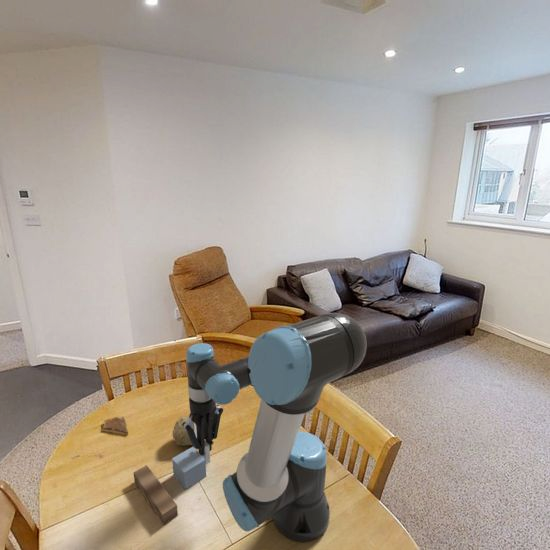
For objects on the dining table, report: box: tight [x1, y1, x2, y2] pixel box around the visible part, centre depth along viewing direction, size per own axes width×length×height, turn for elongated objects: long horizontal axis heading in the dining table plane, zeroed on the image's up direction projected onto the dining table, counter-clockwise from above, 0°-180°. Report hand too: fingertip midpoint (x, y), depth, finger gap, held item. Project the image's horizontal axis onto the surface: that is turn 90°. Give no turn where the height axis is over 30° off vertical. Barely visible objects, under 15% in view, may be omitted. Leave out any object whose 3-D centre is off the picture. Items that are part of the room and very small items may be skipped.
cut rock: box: [172, 415, 197, 446], centre depth 118 cm, size 10×10×10 cm
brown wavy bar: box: [133, 464, 179, 526], centre depth 98 cm, size 18×4×4 cm, turn 44°
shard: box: [101, 415, 129, 436], centre depth 124 cm, size 11×8×2 cm
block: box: [171, 446, 207, 490], centre depth 106 cm, size 7×7×6 cm
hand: (205, 460), depth 110 cm, fingers closed
